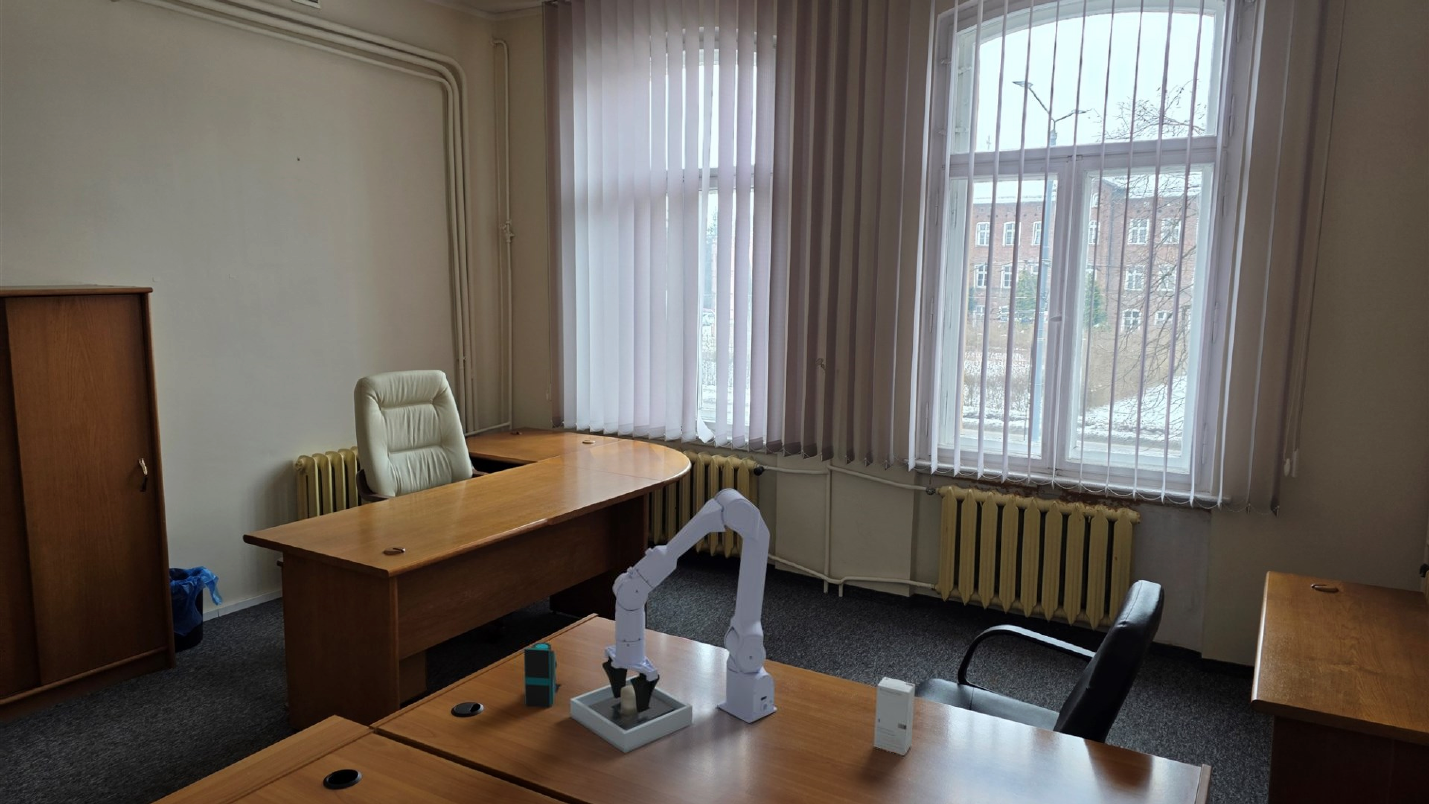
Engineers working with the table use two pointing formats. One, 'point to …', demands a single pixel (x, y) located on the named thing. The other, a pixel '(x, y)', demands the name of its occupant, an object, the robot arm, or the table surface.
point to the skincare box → (894, 715)
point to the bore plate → (613, 713)
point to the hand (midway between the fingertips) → (630, 703)
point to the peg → (628, 701)
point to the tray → (637, 734)
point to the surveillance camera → (540, 676)
